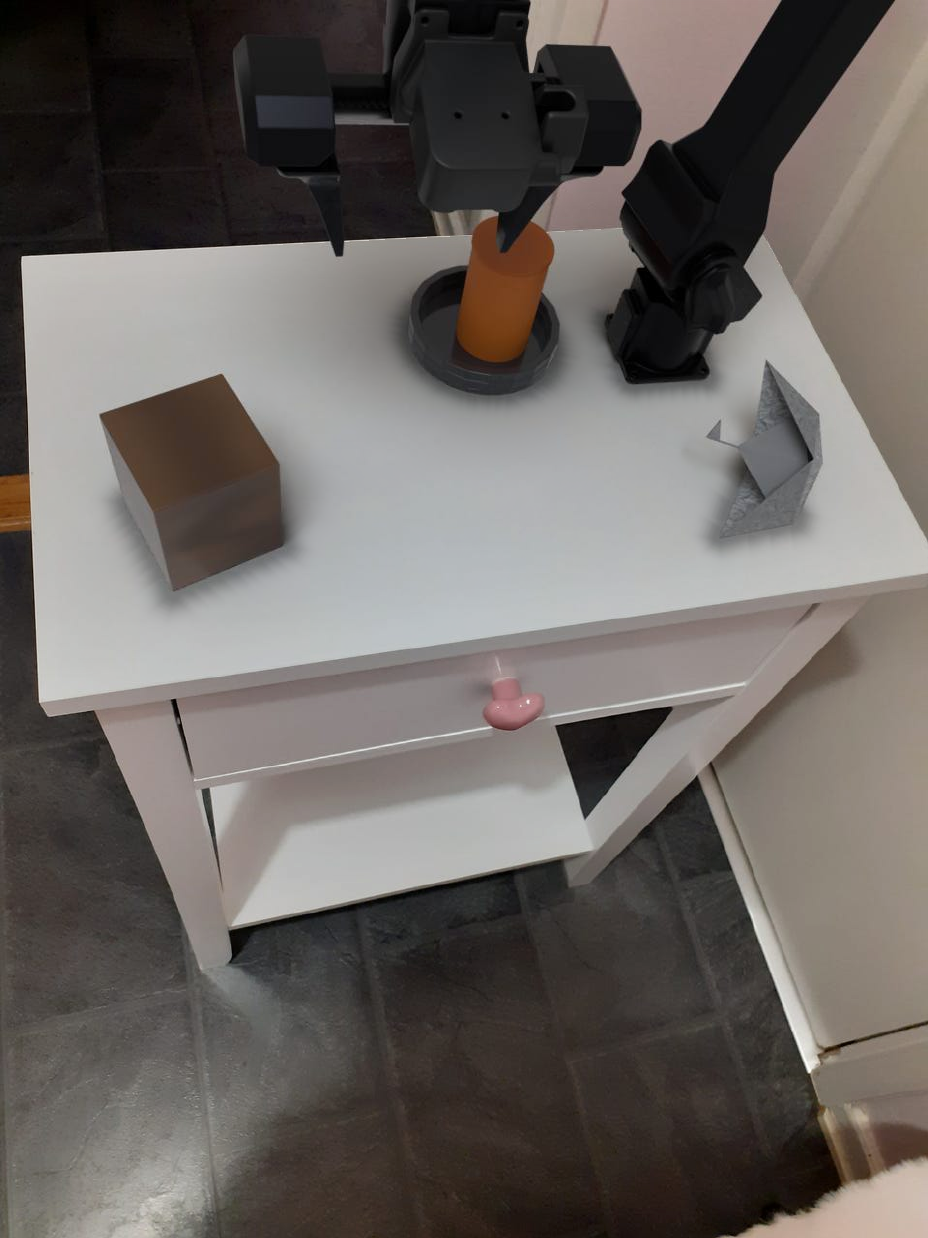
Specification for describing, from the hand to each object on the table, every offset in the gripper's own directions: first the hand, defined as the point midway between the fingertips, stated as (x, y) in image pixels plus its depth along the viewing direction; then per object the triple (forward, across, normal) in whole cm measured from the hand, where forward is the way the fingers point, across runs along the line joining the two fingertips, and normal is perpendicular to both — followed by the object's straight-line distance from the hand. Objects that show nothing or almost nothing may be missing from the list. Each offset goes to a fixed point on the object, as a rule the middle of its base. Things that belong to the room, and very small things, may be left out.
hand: (421, 249), depth 51 cm
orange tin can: (+13, +8, +6) cm, 16 cm away
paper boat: (+13, +23, -8) cm, 28 cm away
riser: (+13, -14, -8) cm, 20 cm away
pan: (+13, +7, +6) cm, 16 cm away
